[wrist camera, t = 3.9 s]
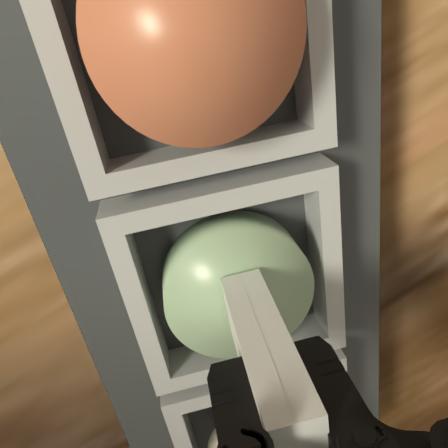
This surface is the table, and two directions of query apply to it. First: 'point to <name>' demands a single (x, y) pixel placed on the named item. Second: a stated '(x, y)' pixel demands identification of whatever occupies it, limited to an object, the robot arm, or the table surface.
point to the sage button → (225, 266)
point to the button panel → (196, 204)
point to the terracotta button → (192, 63)
